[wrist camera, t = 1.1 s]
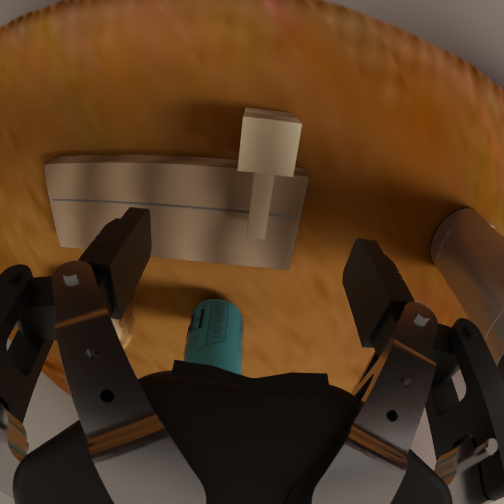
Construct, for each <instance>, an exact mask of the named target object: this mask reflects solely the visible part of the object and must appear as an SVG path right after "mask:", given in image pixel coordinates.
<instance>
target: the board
mask: <svg viewBox="0 0 504 504" xmlns="http://www.w3.org/2000/svg"><path fill="white" fill-rule="evenodd" d="M238 161H239V160H232V159H220V158H207V157H191V156H171V155H76V156H57V157H55V158H53V159H51V160H50V161H48V162H47V163H45V164H43V165H44V172H45V178H46V184H47V190H48V195H49V200H50V205H51V210H52V214H53V219H54V223H55V227H56V231H57V235H58V239H59V243H60V246H61V247H70V248H78V249H87V248H88V246H89V245H90V244H91V243H92V241H93V240H95V237H96V236H97V235H98V234H100V231H101V230H102V229H103V227H104V226H105V225H106V224H107V223H109V222H111V221H112V220H114V219H116V218H121V217H122V216H123V215H124V213H125V212H126V211H127V210H128V208H129V207H136V208H146V209H149V210H150V215H151V239H152V249H151V255H150V256H151V257H160V258H170V259H180V260H190V261H200V262H210V263H221V264H231V265H242V266H252V267H263V268H274V269H286V270H289V268H290V263H291V259H292V255H293V250H294V246H295V242H296V237H297V233H298V228H299V224H300V219H301V214H302V210H303V205H304V200H305V195H306V191H307V186H308V181H309V176H308V174H307V172H306V170H305V168H301V167H295V168H294V174H293V177H288V176H280V175H275V176H274V183H273V189H272V196H271V202H270V209H269V215H268V222H267V228H266V234H265V239H254V238H247V226H248V217H249V209H250V200H251V192H252V184H253V176H254V172H245V171H238Z"/></svg>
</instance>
